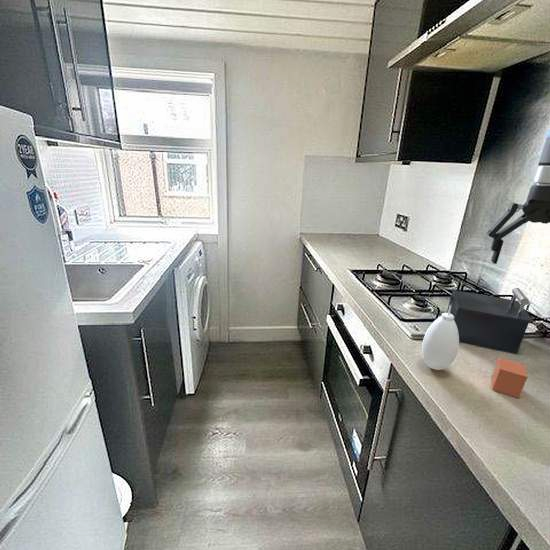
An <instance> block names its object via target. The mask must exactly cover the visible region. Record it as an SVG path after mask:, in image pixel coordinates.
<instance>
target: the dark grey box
mask: <svg viewBox="0 0 550 550" xmlns="http://www.w3.org/2000/svg"><path fill="white" fill-rule="evenodd" d="M450 305H451V310H450V314H452V315H453V316H454V319H453V320H454V321H455V323H456V325H457V329H458V334H459V343H463V344H468V345H472V346H477V347H482V348H486V349H491V350H495V351H500V352H505V353H509V354H513V355H518V352H519V351H520V347H521V344H522V342H523V339H524V337H525V334H526V332H527V329H528V326H529V324H530V323H525V322H519V321H514V320H509V319H503V318H498V317H492V316H487V315H481V314H476V313H471V312H465V311H460V310H457V307H456V303H455V300H454V297H453V294H452V293H451V294H450V297H449V303H448V306H447V310H446V313H448V310H449V307H450Z"/></svg>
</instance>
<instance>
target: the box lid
mask: <svg viewBox="0 0 550 550" xmlns="http://www.w3.org/2000/svg"><path fill="white" fill-rule="evenodd" d="M511 293H512V294H513V296H512V298H511V299H510V298H503V297H498V296H497V297H496V296H490V295H485V294H480V293H479V294H478V293H471V292H466V291H461V290H454V289H453V290H452V291H451V295H452V294H453V297H454V300H455V303H456V307H457V310H460V311H465V312H471V313H476V314H481V315H487V316H492V317H498V318H503V319H509V320H514V321H519V322H525V323H529V324H530V325H533V324H534V320H533V318H532V317H531V316H530V314H529V313H528V312H527V310H526V309H525V306H527V305H529V304H530V300H529V298H528V297H527V296H526V295H525V293H524V292H523V291H522V290H521V289H520V288H519V287H514V288H513V289H512V290H511Z"/></svg>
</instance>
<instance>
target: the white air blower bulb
mask: <svg viewBox="0 0 550 550" xmlns="http://www.w3.org/2000/svg"><path fill="white" fill-rule="evenodd" d="M447 310H448V309H447ZM450 310H451V305H450V307H449V310H448V313H447V312H442V314H441V315H440V316H439V317H437V318H436V319H435V320H434V321H433V322H432V323H431V324H430V326H429V327H428V328H427V330H426V332H425V334H424V336H423V339H422V342H421V355H422V358H423V361H424V363H425V364H426V365H427V367H429V368H430V369H432V370H434V371H442V370H446V369H447V368H448V367H450V366H451V365H452V364H453V363H454V361H455V359H456V358H457V356H458V352H459V348H460V342H459V334H458V329H457V325H456V323H455V321H454V320H453V319H454V316H453V315H452V314H450Z"/></svg>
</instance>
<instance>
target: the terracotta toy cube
mask: <svg viewBox="0 0 550 550" xmlns="http://www.w3.org/2000/svg"><path fill="white" fill-rule="evenodd" d="M490 379H491V387H492V388H491V390H492V391H495V392H498V393H501V394H504V395H507V396H510V397H513V398H516V399H520V396H521V394H522V392H523V389H524V386H525V384H526V382H527V379H528V374H527V370H526V366H525V364H523V363H519V362H515V361H511V360H509V359H504V358H501V357H498V358H497V360H496V364H495V365H494V369H493V372H492V374H491V377H490Z"/></svg>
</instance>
